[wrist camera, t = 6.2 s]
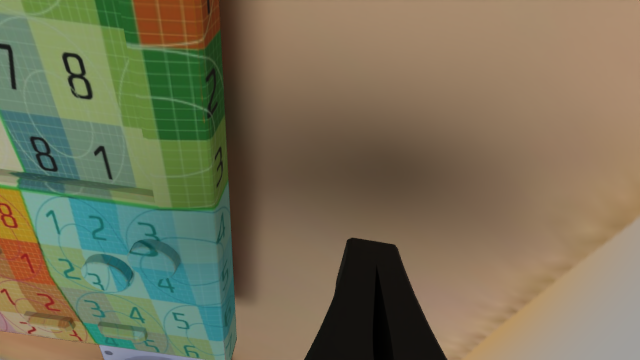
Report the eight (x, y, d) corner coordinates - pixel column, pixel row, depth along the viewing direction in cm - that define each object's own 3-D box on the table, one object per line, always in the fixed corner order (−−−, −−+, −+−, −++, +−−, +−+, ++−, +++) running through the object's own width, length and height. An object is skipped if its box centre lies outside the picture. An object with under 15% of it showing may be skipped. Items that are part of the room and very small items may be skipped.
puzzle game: (-37, 347, 19) (-656, -377, 6) (29, 264, 22) (-268, -296, 10) (224, 383, 19) (159, -275, 6) (248, 294, 22) (240, -232, 9)
